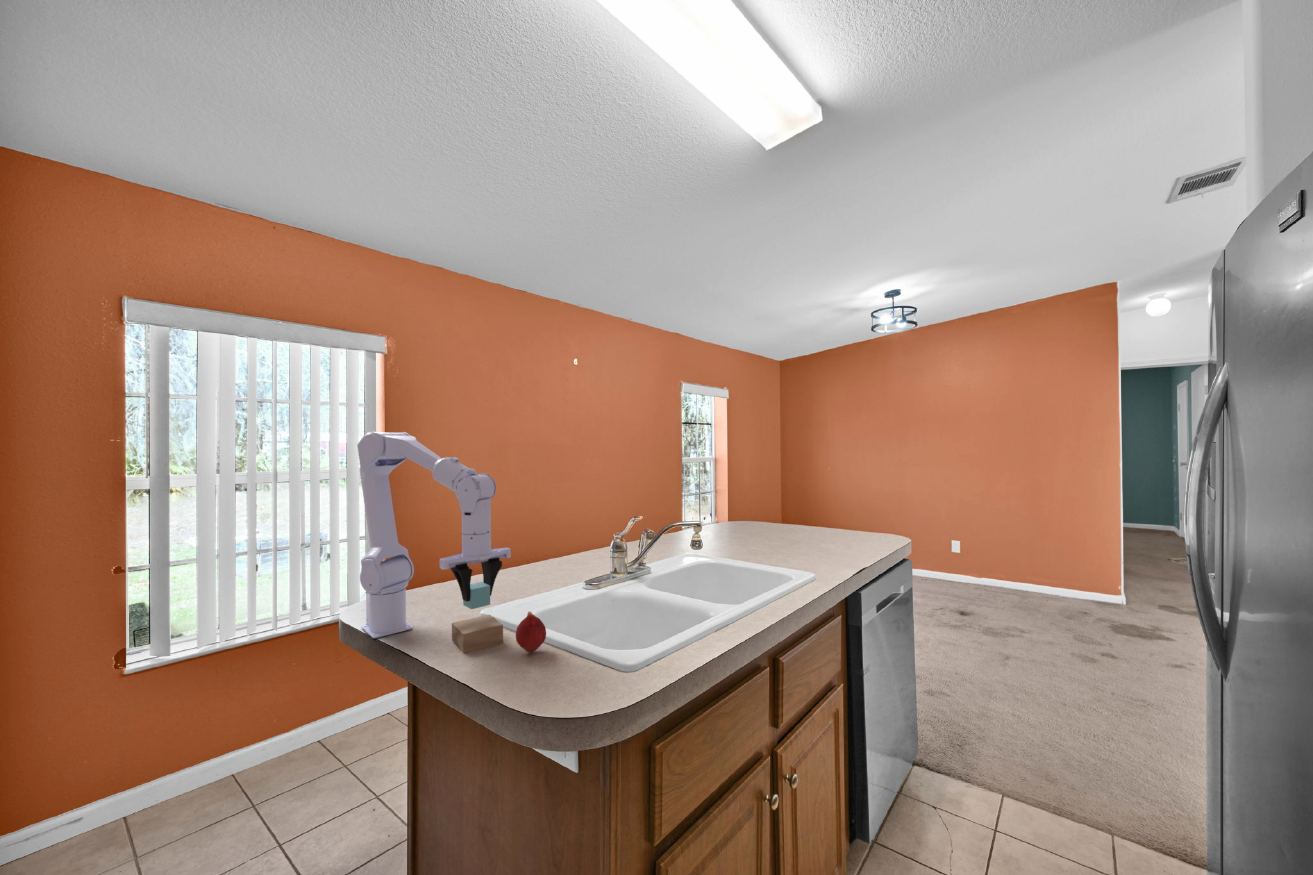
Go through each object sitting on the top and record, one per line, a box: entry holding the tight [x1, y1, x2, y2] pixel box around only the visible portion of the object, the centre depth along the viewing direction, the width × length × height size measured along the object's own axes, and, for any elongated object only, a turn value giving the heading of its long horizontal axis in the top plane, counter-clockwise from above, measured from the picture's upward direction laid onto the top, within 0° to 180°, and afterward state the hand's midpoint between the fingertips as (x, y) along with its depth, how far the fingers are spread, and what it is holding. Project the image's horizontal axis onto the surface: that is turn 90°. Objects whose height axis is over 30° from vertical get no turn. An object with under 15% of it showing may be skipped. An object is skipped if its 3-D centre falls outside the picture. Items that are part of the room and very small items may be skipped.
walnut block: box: [451, 614, 504, 654], centre depth 104 cm, size 8×8×4 cm
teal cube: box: [462, 581, 491, 610], centre depth 104 cm, size 4×4×4 cm
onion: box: [515, 611, 547, 654], centre depth 98 cm, size 6×6×8 cm
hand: (477, 597), depth 104 cm, fingers closed on teal cube, 4 cm apart
